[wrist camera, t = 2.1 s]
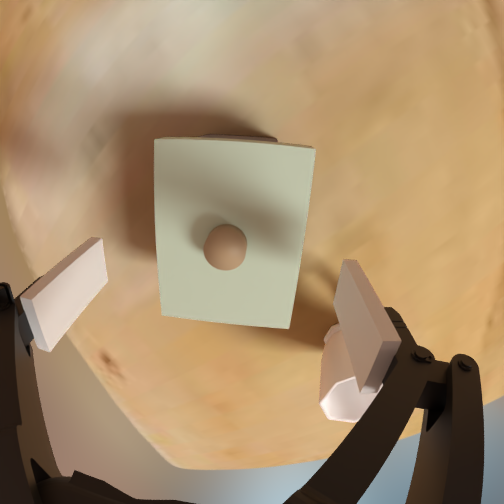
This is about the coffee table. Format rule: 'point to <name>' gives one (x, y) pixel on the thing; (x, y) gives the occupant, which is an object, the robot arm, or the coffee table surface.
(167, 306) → the lid
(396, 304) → the coffee table surface
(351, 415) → the cup
